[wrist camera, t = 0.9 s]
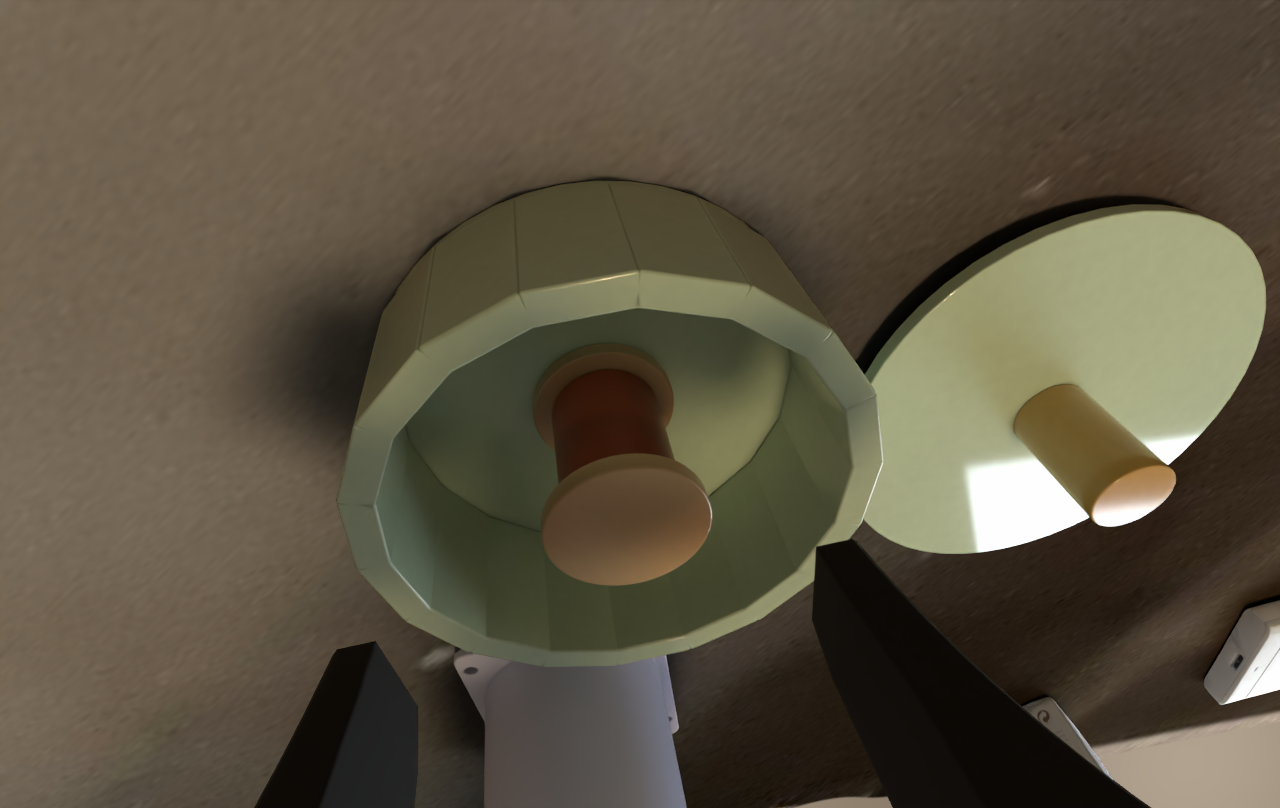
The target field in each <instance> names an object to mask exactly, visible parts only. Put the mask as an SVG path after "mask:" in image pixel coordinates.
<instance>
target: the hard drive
mask: <svg viewBox="0 0 1280 808" xmlns="http://www.w3.org/2000/svg"><path fill="white" fill-rule="evenodd" d="M1204 687H1205V688H1206V689H1207V691H1208V692H1209V693H1210V694H1211V695H1212V696H1213V697H1214V699H1215V700H1216V701H1217V702H1218V703H1219V704H1220V705H1223V704H1226V703H1230V702H1234V701H1238V700H1241V699H1246V698H1249V697H1253V696H1257V695H1261V694H1265V693H1268V692H1272V691H1276V690H1280V600H1278V601H1275V602H1271V603H1267V604H1263V605H1260V606H1256V607H1252V608H1249V609H1247V610H1245V611H1244V612H1243V614H1242V616H1241V618H1240V619H1239V621H1238V623H1237V624H1236V626H1235V628H1234V629H1233V631H1232V633H1231V635H1230V636H1229V638H1228V640H1227V642H1226V644H1225V645H1224V647H1223V649H1222V651H1221V652H1220V654H1219V655H1218V657H1217V659H1216V661H1215V662H1214V664H1213V666H1212V667H1211V669H1210V671H1209V672H1208V674H1207V676H1206V677H1205V680H1204Z"/></svg>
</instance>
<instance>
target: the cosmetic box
mask: <svg viewBox="0 0 1280 808" xmlns="http://www.w3.org/2000/svg"><path fill="white" fill-rule="evenodd" d="M1022 707H1023V708H1024V709H1025V710H1027V711H1028V712H1029V713H1030V714H1031V715H1032V716H1034V717H1035V718H1036V719H1037V720H1038V721H1040V722H1041V723H1042V724H1043V725H1044V726H1046V727H1047V728H1048V729H1049V730H1050V731H1052V732H1053V733H1054V734H1055V735H1056V736H1058V737H1059V738H1060V739H1061V740H1063V741H1064V742H1065V743H1066V744H1068V745H1069V746H1070V747H1071V748H1073V749H1074V750H1075V751H1076V752H1078V753H1079V754H1080V755H1081V756H1083V757H1084V758H1085V759H1086V760H1088V761H1089V762H1090V763H1092V764H1093V765H1094V766H1096V767H1097V768H1098V769H1100V770H1101V771H1102V772H1104V773H1105V774H1106V775H1107V776H1109V777H1110V778H1111V779H1113V778H1112V777H1111V775H1110V774H1109V772H1108V771H1107V770H1106V768H1105V767H1104V765H1103V764H1102V763H1101V761H1100V760H1099V758H1098V757H1097V755H1096V754H1095V753H1094V751H1093V750H1092V748H1091V747H1090V745H1089V744H1088V743H1087V741H1086V740H1085V739H1084V737H1083V736H1082V734H1081V733H1080V732H1079V730H1078V729H1077V728H1076V727H1075V725H1074V724H1073V723H1072V722H1071V720H1070V719H1069V718H1068V717H1067V716H1066V714H1065V713H1064V712H1063V711H1062V710H1061V708H1060V707H1059V706H1058V705H1057V703H1056V702H1055V701H1054V700H1053V699H1052V698H1050V697H1047V698H1043V699H1039V700H1037V701H1034V702H1032V703H1029V704H1027V705H1025V706H1022Z"/></svg>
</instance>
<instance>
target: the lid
mask: <svg viewBox="0 0 1280 808" xmlns="http://www.w3.org/2000/svg"><path fill="white" fill-rule="evenodd" d="M1265 312H1266V286H1265V282H1264V278H1263V274H1262V269H1261V267H1260V265H1259V263H1258V261H1257V259H1256V257H1255V255H1254V253H1253V251H1252V250H1251V248H1250V247H1249V246H1248V245H1247V244H1246V243H1245V242H1244V241H1243V240H1242V238H1241V237H1240V236H1239V235H1238V234H1236V233H1235V232H1233V231H1232V230H1230V229H1229V228H1227V227H1226V226H1224V225H1223V224H1221V223H1219V222H1217V221H1215V220H1213V219H1211V218H1209V217H1207V216H1204V215H1201V214H1199V213H1196V212H1193V211H1191V210H1188V209H1184V208H1178V207H1172V206H1166V205H1145V204H1131V205H1123V206H1116V207H1108V208H1101V209H1097V210H1093V211H1089V212H1085V213H1081V214H1077V215H1073V216H1069V217H1066V218H1064V219H1061V220H1058V221H1055V222H1053V223H1050V224H1047V225H1044V226H1042V227H1039V228H1036V229H1034V230H1032V231H1030V232H1028V233H1026V234H1024V235H1022V236H1020V237H1018V238H1016V239H1014V240H1012V241H1009V242H1007V243H1005V244H1003V245H1002V246H1000V247H998V248H997V249H995V250H993V251H992V252H990V253H988V254H987V255H985V256H984V257H982V258H980V259H979V260H977V261H975V262H974V263H972V264H971V265H969V266H968V267H967V268H965V269H964V270H963V271H961V272H960V273H958V274H957V275H956V276H954V277H953V278H952V279H950V280H949V281H947V282H946V283H945V284H944V285H942V286H941V287H940V288H939V289H938V290H937V291H936V292H934V293H933V294H932V295H931V296H930V297H929V298H928V299H926V300H925V301H924V302H923V303H922V304H921V305H920V306H919V307H918V308H917V309H916V310H915V311H914V312H913V313H912V314H911V315H910V316H909V317H908V318H907V319H906V320H905V321H904V322H903V323H902V324H901V325H900V327H899V328H898V329H897V330H896V331H895V332H894V333H893V335H892V336H891V337H890V339H889V340H888V341H887V342H886V344H885V345H884V346H883V348H882V349H881V350H880V351H879V353H878V354H877V355H876V357H875V359H874V360H873V362H872V363H871V365H870V367H869V368H868V370H867V371H866V373H865V376H866V378H867V379H868V381H869V382H870V384H871V385H872V386H873V388H874V389H875V393H876V394H877V401H878V410H879V420H880V430H881V440H882V450H883V465H882V468H881V470H880V473H879V476H878V479H877V482H876V484H875V487H874V490H873V493H872V496H871V498H870V501H869V504H868V507H867V509H866V512H865V515H864V518H863V520H864V521H865V522H866V523H867V524H869V525H870V526H871V527H872V528H873V529H874V530H875V531H876V532H878V533H879V534H881V535H882V536H884V537H886V538H887V539H889V540H891V541H893V542H895V543H898V544H900V545H902V546H905V547H908V548H912V549H916V550H920V551H925V552H933V553H941V554H966V553H977V552H986V551H992V550H997V549H1003V548H1007V547H1011V546H1015V545H1019V544H1023V543H1027V542H1030V541H1033V540H1036V539H1039V538H1042V537H1045V536H1048V535H1051V534H1053V533H1056V532H1058V531H1060V530H1063V529H1065V528H1068V527H1070V526H1072V525H1075V524H1077V523H1079V522H1081V521H1083V520H1085V519H1087V518H1089V517H1090V518H1091V519H1092V520H1093V521H1094V522H1095V523H1096V524H1098V525H1101V526H1108V527H1111V526H1119V525H1123V524H1127V523H1130V522H1132V521H1135V520H1137V519H1139V518H1141V517H1143V516H1145V515H1146V514H1148V513H1150V512H1151V511H1153V510H1154V509H1155V508H1157V507H1158V506H1159V505H1160V504H1161V503H1162V502H1163V501H1164V500H1165V499H1166V498H1167V497H1168V496H1169V494H1170V493H1171V492H1172V490H1173V488H1174V486H1175V482H1176V475H1175V473H1174V471H1173V470H1172V468H1170V467H1169V466H1168V465H1169V464H1170V463H1171V462H1172V461H1173V460H1174V459H1176V458H1177V457H1178V456H1179V455H1180V454H1181V453H1182V452H1183V451H1184V450H1185V449H1186V448H1187V447H1188V446H1189V445H1190V444H1191V443H1192V442H1193V441H1194V440H1195V439H1196V438H1197V437H1198V436H1199V435H1200V434H1201V433H1202V432H1203V431H1204V430H1205V429H1206V428H1207V426H1208V425H1209V424H1210V423H1211V422H1212V421H1213V419H1214V418H1215V417H1216V416H1217V415H1218V413H1219V412H1220V411H1221V409H1222V408H1223V407H1224V405H1225V404H1226V403H1227V401H1228V400H1229V399H1230V397H1231V396H1232V394H1233V393H1234V391H1235V389H1236V388H1237V386H1238V384H1239V383H1240V381H1241V379H1242V378H1243V376H1244V375H1245V373H1246V371H1247V369H1248V366H1249V364H1250V362H1251V360H1252V358H1253V356H1254V353H1255V351H1256V348H1257V345H1258V342H1259V339H1260V336H1261V333H1262V330H1263V324H1264V318H1265Z"/></svg>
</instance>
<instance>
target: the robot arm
mask: <svg viewBox="0 0 1280 808" xmlns="http://www.w3.org/2000/svg"><path fill="white" fill-rule="evenodd" d="M812 621H813V624H814V627H815V630H816V633H817V636H818V639H819V642H820V644H821V647H822V650H823V653H824V656H825V659H826V662H827V665H828V667H829V670H830V673H831V676H832V679H833V681H834V683H835V685H836V688H837V690H838V692H839V694H840V696H841V698H842V701H843V703H844V705H845V707H846V709H847V711H848V713H849V716H850V718H851V720H852V722H853V724H854V726H855V728H856V731H857V733H858V735H859V737H860V739H861V741H862V743H863V745H864V748H865V750H866V752H867V754H868V756H869V758H870V760H871V762H872V764H873V767H874V769H875V771H876V773H877V775H878V777H879V779H880V781H881V784H882V786H883V788H884V790H885V792H886V794H887V796H888V798H889V801H890V802H891V805H892V807H893V808H1151V807H1150V806H1148V805H1147V804H1145V803H1144V802H1142V801H1141V800H1139V799H1138V798H1137V797H1135V796H1134V795H1132V794H1131V793H1130V792H1128V791H1127V790H1126V789H1125V788H1123V787H1122V786H1120V785H1119V784H1118V783H1117V782H1115V781H1114V780H1113V779H1111V778H1110V777H1109V776H1107V775H1106V774H1105V773H1104V772H1102V771H1101V770H1100V769H1098V768H1097V767H1096V766H1094V765H1093V764H1092V763H1090V762H1089V761H1088V760H1086V759H1085V758H1084V757H1083V756H1081V755H1080V754H1079V753H1078V752H1076V751H1075V750H1074V749H1073V748H1071V747H1070V746H1069V745H1068V744H1066V743H1065V742H1064V741H1063V740H1061V739H1060V738H1059V737H1058V736H1056V735H1055V734H1054V733H1053V732H1052V731H1050V730H1049V729H1048V728H1047V727H1046V726H1044V725H1043V724H1042V723H1041V722H1040V721H1038V720H1037V719H1036V718H1035V717H1034V716H1032V715H1031V714H1030V713H1029V712H1028V711H1027V710H1025V709H1024V708H1023V707H1022V706H1021V705H1020V704H1018V703H1017V702H1016V701H1015V700H1014V699H1013V698H1012V697H1011V696H1009V695H1008V694H1007V693H1006V692H1005V691H1004V690H1003V689H1002V688H1000V687H999V686H998V685H997V684H996V683H995V682H994V681H993V680H991V679H990V678H989V677H988V676H987V675H986V674H985V673H984V672H983V671H982V670H981V669H980V668H978V667H977V666H976V665H975V664H974V663H973V662H972V661H971V660H970V659H969V658H968V657H967V656H966V655H965V654H964V653H963V652H962V651H961V650H959V649H958V648H957V647H956V646H955V645H954V644H953V643H952V642H951V641H950V640H949V639H948V638H947V637H946V636H945V635H944V634H943V633H942V632H941V631H940V630H939V629H938V628H937V627H936V626H935V625H934V624H933V623H932V622H931V621H930V620H929V619H928V618H927V617H926V616H925V615H924V614H923V613H922V612H921V611H920V610H919V609H918V608H917V607H916V606H915V605H914V604H913V603H912V602H911V601H910V599H909V598H908V597H907V596H906V595H905V594H904V593H903V592H902V591H901V590H900V589H899V588H898V587H897V586H896V585H895V584H894V582H893V581H892V580H891V579H890V578H889V577H888V576H887V575H886V574H885V573H884V571H883V570H882V569H881V568H880V567H879V566H878V565H877V564H876V563H875V561H874V560H873V559H872V558H871V557H870V556H869V555H868V553H867V552H866V551H865V550H864V549H863V548H862V546H861V545H860V544H859V543H858V542H857V541H855V540H853V539H850V540H845V541H840V542H836V543H831V544H826V545H822V546H817V547H816V557H815V575H814V594H813V612H812ZM454 666H455V668H456V670H457V672H458V674H459V676H460V677H461V679H462V681H463V683H464V685H465V687H466V688H467V690H468V692H469V694H470V696H471V698H472V700H473V701H474V703H475V705H476V707H477V709H478V711H479V713H480V714H481V716H482V718H483V720H484V722H485V770H484V808H687V807H686V802H685V797H684V792H683V787H682V782H681V777H680V772H679V767H678V762H677V757H676V752H675V748H674V743H673V738H672V734H673V733H675V732H676V731H677V730H678V728H679V725H678V720H677V714H676V708H675V703H674V697H673V692H672V686H671V680H670V675H669V669H668V664H667V658H666V655H664V656H659V657H654V658H650V659H645V660H641V661H636V662H632V663H627V664H622V665H618V664H617V665H616V666H585V667H543V666H534V665H529V664H524V663H519V662H514V661H509V660H504V659H499V658H494V657H489V656H484V655H479V654H474V653H471V652H466V651H464V650H462V649H461V650H459V651H457V652H456V653H455V655H454ZM417 775H418V706H417V704H416V703H415V701H414V700H413V698H412V697H411V695H410V694H409V692H408V690H407V689H406V687H405V686H404V684H403V683H402V681H401V680H400V678H399V677H398V675H397V673H396V672H395V670H394V669H393V667H392V666H391V664H390V663H389V661H388V660H387V658H386V656H385V655H384V653H383V652H382V650H381V649H380V647H379V646H378V644H377V643H376V641H374V642H370V643H365V644H360V645H356V646H351V647H346V648H342V649H337V650H336V652H335V653H334V654H333V656H332V658H331V660H330V662H329V664H328V666H327V668H326V670H325V672H324V674H323V676H322V678H321V680H320V682H319V684H318V686H317V688H316V690H315V692H314V694H313V697H312V699H311V701H310V703H309V705H308V707H307V709H306V711H305V713H304V715H303V717H302V719H301V721H300V722H299V724H298V726H297V728H296V730H295V732H294V734H293V736H292V738H291V740H290V742H289V744H288V746H287V748H286V750H285V752H284V754H283V755H282V757H281V759H280V761H279V763H278V765H277V767H276V768H275V770H274V772H273V774H272V776H271V778H270V780H269V781H268V783H267V785H266V787H265V789H264V791H263V793H262V794H261V796H260V798H259V800H258V802H257V804H256V806H255V807H254V808H414V802H415V794H416V784H417Z"/></svg>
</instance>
